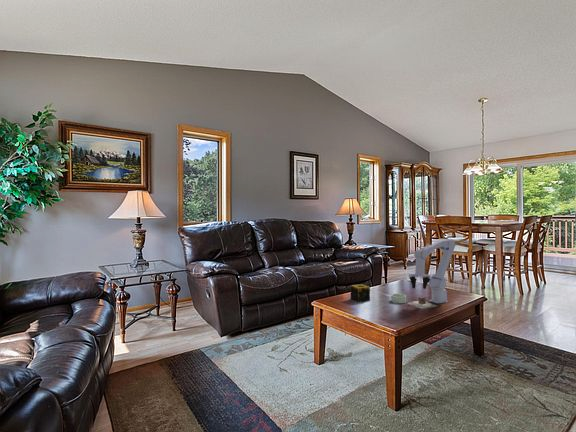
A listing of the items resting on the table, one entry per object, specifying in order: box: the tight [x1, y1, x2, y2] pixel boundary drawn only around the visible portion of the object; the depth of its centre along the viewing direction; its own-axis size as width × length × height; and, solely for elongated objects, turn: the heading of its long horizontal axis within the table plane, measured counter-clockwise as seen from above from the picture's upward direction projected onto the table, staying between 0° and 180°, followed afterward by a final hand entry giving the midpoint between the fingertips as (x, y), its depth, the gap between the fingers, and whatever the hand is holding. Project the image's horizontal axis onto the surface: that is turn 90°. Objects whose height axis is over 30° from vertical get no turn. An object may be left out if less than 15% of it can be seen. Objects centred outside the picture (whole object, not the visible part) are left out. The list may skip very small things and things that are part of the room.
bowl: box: [390, 293, 407, 304], centre depth 220 cm, size 10×10×4 cm
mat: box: [406, 301, 438, 309], centre depth 212 cm, size 14×14×1 cm
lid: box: [412, 296, 433, 308], centre depth 212 cm, size 12×12×5 cm
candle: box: [350, 283, 371, 303], centre depth 227 cm, size 10×10×10 cm
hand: (419, 288), depth 211 cm, fingers open, 7 cm apart
